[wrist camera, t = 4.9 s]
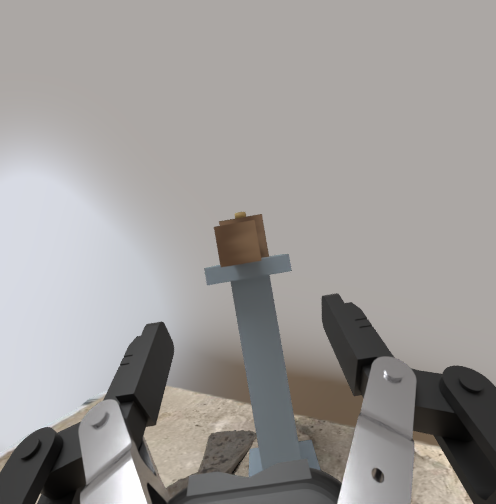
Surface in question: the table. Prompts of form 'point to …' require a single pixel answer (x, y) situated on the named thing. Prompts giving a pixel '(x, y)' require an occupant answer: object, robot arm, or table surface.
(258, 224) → the marking gauge
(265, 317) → the stand
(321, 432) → the table surface
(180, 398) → the table surface
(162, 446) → the table surface
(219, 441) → the axe head
